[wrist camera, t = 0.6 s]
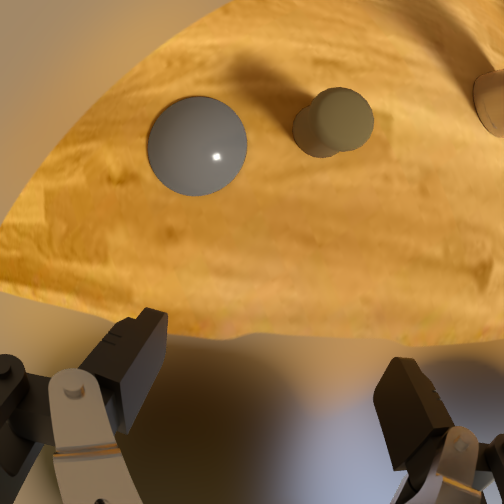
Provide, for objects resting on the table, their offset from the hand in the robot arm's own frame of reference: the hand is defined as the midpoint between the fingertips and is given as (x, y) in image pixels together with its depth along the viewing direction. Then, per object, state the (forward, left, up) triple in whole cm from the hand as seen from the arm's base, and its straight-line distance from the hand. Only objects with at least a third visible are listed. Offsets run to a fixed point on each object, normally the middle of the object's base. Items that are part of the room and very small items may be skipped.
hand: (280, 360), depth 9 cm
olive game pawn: (-10, -5, -24) cm, 27 cm away
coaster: (+2, -11, -24) cm, 27 cm away
